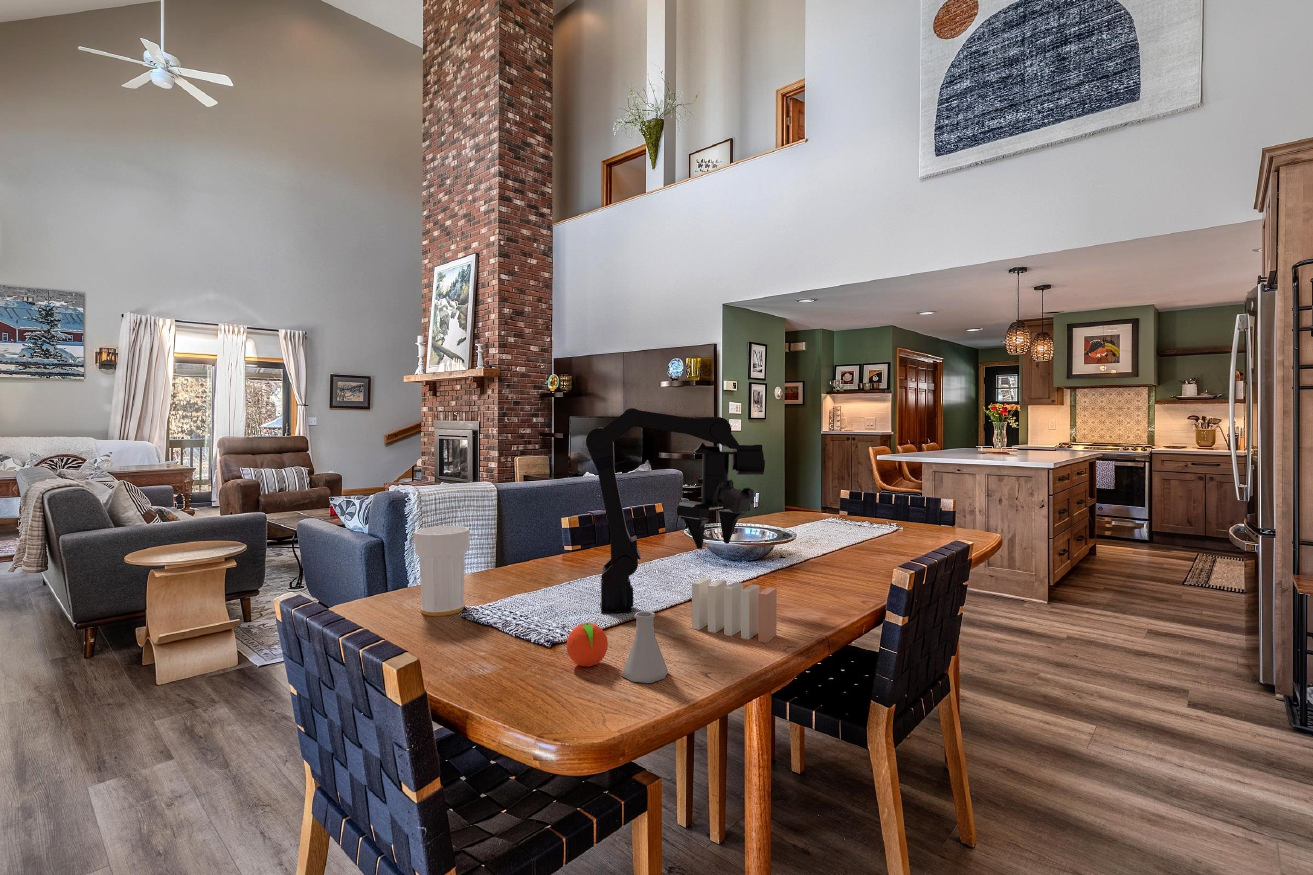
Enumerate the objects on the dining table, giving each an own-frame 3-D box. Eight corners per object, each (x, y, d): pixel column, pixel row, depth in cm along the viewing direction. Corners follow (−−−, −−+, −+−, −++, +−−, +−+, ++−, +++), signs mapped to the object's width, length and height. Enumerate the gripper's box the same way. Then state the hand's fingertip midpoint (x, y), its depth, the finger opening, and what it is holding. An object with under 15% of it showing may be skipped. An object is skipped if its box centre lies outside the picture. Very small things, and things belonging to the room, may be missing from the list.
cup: (469, 600, 145) (468, 524, 144) (471, 614, 134) (470, 532, 134) (416, 605, 141) (415, 527, 141) (414, 620, 131) (412, 536, 130)
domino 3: (724, 634, 122) (724, 587, 121) (735, 627, 126) (735, 582, 125) (731, 636, 121) (731, 589, 120) (742, 628, 125) (742, 583, 125)
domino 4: (741, 637, 120) (741, 590, 119) (751, 630, 124) (751, 584, 124) (748, 639, 119) (748, 591, 119) (759, 631, 123) (759, 585, 123)
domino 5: (758, 641, 118) (758, 593, 118) (768, 633, 122) (768, 586, 122) (766, 642, 117) (766, 594, 117) (776, 635, 121) (776, 588, 121)
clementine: (613, 672, 104) (613, 629, 103) (571, 678, 102) (570, 633, 101) (603, 655, 111) (603, 614, 111) (563, 659, 109) (563, 618, 109)
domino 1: (691, 628, 125) (691, 582, 125) (703, 621, 129) (703, 577, 129) (699, 629, 124) (699, 584, 124) (710, 622, 129) (710, 578, 128)
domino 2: (707, 631, 123) (707, 585, 123) (719, 624, 128) (719, 579, 127) (715, 632, 123) (715, 586, 122) (726, 625, 127) (726, 580, 126)
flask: (652, 688, 98) (651, 623, 97) (613, 678, 102) (613, 616, 101) (675, 672, 104) (675, 611, 103) (638, 663, 108) (638, 604, 107)
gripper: (717, 480, 126) (715, 558, 126) (771, 475, 139) (769, 546, 140) (675, 475, 134) (673, 549, 134) (730, 471, 147) (728, 538, 147)
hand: (713, 546), depth 139 cm, fingers open, 9 cm apart
